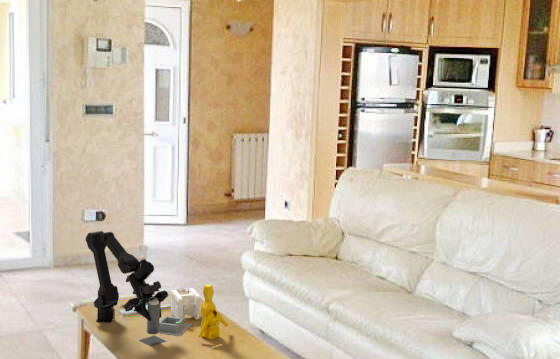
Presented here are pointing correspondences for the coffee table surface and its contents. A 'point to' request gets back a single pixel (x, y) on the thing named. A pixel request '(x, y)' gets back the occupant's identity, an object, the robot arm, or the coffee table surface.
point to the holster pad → (152, 340)
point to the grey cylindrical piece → (153, 317)
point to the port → (173, 326)
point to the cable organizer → (185, 304)
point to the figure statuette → (210, 316)
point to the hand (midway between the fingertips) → (155, 318)
